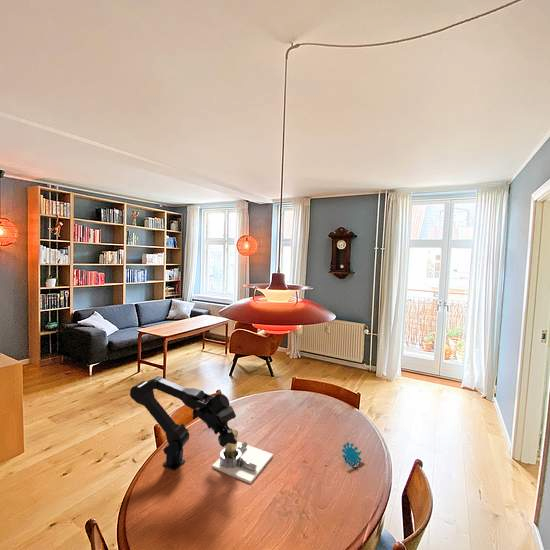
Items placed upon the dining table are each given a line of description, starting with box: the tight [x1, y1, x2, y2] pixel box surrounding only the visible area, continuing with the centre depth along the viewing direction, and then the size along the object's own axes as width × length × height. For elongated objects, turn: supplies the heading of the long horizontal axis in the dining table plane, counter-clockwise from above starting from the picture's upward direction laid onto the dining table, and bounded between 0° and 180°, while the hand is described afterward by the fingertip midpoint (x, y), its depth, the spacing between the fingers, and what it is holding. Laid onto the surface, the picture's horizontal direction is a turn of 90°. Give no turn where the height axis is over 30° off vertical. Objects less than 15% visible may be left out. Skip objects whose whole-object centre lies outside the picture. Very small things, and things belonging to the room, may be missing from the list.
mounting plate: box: [211, 441, 274, 485], centre depth 136 cm, size 20×18×1 cm
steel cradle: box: [219, 441, 257, 472], centre depth 136 cm, size 16×16×4 cm
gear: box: [341, 442, 362, 468], centre depth 142 cm, size 11×6×10 cm
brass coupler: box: [224, 428, 239, 458], centre depth 134 cm, size 5×5×10 cm
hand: (234, 439), depth 135 cm, fingers closed on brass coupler, 5 cm apart
